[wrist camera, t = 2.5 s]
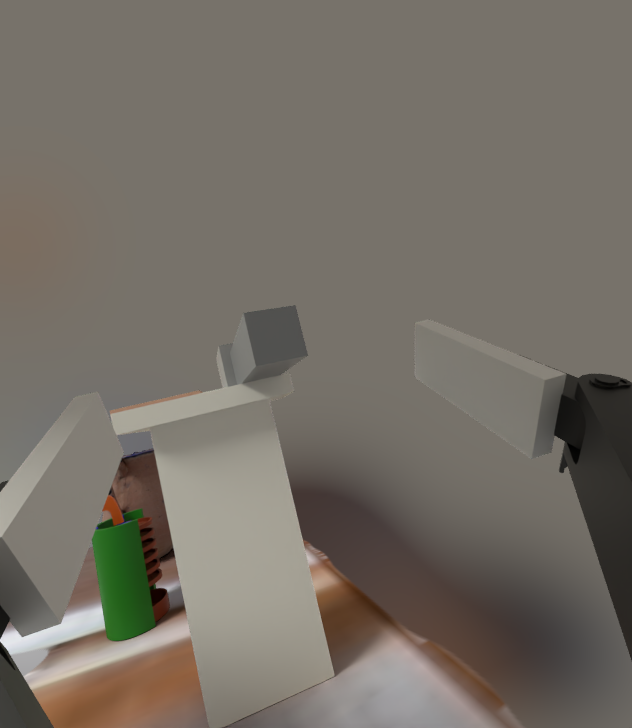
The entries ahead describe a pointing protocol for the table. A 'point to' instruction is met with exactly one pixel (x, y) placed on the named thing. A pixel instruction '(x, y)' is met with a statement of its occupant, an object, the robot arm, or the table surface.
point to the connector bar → (262, 346)
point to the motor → (128, 573)
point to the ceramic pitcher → (142, 494)
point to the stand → (236, 545)
